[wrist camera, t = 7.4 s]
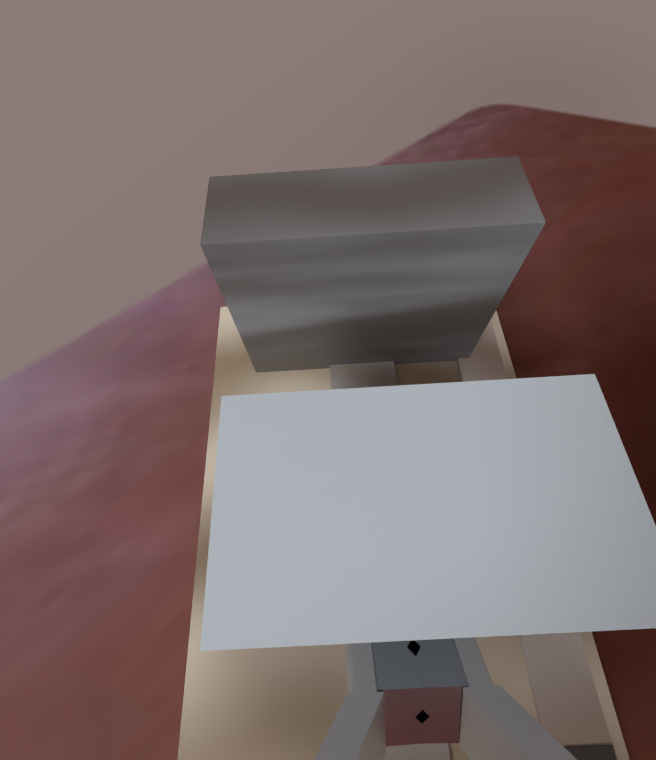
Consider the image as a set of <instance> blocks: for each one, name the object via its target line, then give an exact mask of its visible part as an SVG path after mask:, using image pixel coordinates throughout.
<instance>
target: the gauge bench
mask: <svg viewBox="0 0 656 760" xmlns="http://www.w3.org/2000/svg"><path fill="white" fill-rule="evenodd" d="M545 223H546V222H545V220H544V217H543V215H542V212H541V210H540V208H539V205H538V203H537V200H536V198H535V196H534V193H533V191H532V189H531V186H530V184H529V181H528V179H527V177H526V174H525V172H524V169H523V167H522V165H521V162H520V160H519V158H518V157H503V158H488V159H473V160H458V161H442V162H427V163H412V164H397V165H382V166H368V167H353V168H337V169H322V170H307V171H292V172H279V173H278V172H277V173H262V174H248V175H232V176H218V177H217V176H216V177H210V178H209V186H208V193H207V200H206V208H205V215H204V222H203V230H202V237H201V247H202V249H203V252H204V254H205V256H206V259H207V261H208V263H209V266H210V268H211V270H212V272H213V275H214V277H215V279H216V282H217V284H218V286H219V288H220V291H221V293H222V295H223V298H224V300H225V302H226V305H227V307H221V309H220V320H219V330H218V341H217V351H216V362H215V372H214V383H213V393H212V404H211V414H210V425H209V435H208V446H207V456H206V467H205V477H204V488H203V498H202V509H201V519H200V530H199V540H198V551H197V561H196V572H195V582H194V593H193V603H192V614H191V625H190V635H189V646H188V656H187V667H186V677H185V688H184V698H183V709H182V719H181V730H180V740H179V751H178V760H314V758H315V756H316V754H317V752H318V750H319V748H320V746H321V744H322V742H323V740H324V738H325V736H326V734H327V732H328V730H329V728H330V726H331V724H332V722H333V720H334V719H335V717H336V715H337V713H338V711H339V709H340V707H341V705H342V703H343V701H344V699H345V697H346V695H347V693H353V682H352V666H351V649H350V644H332V645H312V646H292V647H272V648H252V649H232V650H213V651H200V646H201V634H202V622H203V610H204V598H205V586H206V574H207V562H208V550H209V538H210V526H211V514H212V502H213V490H214V478H215V466H216V454H217V442H218V430H219V418H220V407H221V396H229V395H246V394H263V393H280V392H297V391H314V390H331V389H348V388H365V387H382V386H399V385H416V384H433V383H450V382H467V381H484V380H501V379H517V378H516V375H515V372H514V368H513V365H512V362H511V358H510V355H509V351H508V348H507V345H506V341H505V338H504V335H503V331H502V328H501V324H500V321H499V318H498V314H497V311H496V309H497V307H498V306H499V304H500V302H501V300H502V299H503V297H504V295H505V293H506V292H507V290H508V288H509V286H510V285H511V283H512V281H513V279H514V278H515V276H516V274H517V272H518V271H519V269H520V267H521V265H522V264H523V262H524V260H525V258H526V256H527V255H528V253H529V251H530V249H531V248H532V246H533V244H534V242H535V241H536V239H537V237H538V235H539V234H540V232H541V230H542V228H543V227H544V225H545ZM475 639H476V642H477V644H478V647H479V650H480V652H481V655H482V657H483V660H484V662H485V665H486V667H487V670H488V672H489V675H490V678H491V680H492V683H493V685H494V686H501V687H502V688H503V689H504V690H505V691H506V692H507V693H508V694H509V695H510V696H511V697H512V698H513V699H515V700H516V701H517V702H518V703H519V704H520V705H521V706H522V707H523V708H524V709H525V710H526V711H527V712H528V713H529V714H530V715H531V716H532V717H533V718H534V719H535V720H536V721H537V722H539V723H540V724H541V725H542V726H543V727H544V728H545V729H546V730H547V731H548V732H549V733H550V734H551V735H552V736H553V737H554V738H555V739H556V740H557V741H558V742H559V743H560V744H561V745H563V746H564V747H565V748H566V749H567V750H568V751H569V752H570V753H571V754H572V755H573V756H574V757H575V758H576V759H577V760H630V759H629V756H628V752H627V749H626V746H625V742H624V739H623V735H622V732H621V729H620V725H619V722H618V719H617V715H616V712H615V709H614V705H613V702H612V698H611V695H610V692H609V688H608V685H607V682H606V678H605V675H604V671H603V668H602V665H601V661H600V658H599V655H598V651H597V648H596V645H595V641H594V638H593V634H592V631H591V632H571V633H551V634H531V635H511V636H491V637H475ZM383 760H470V759H469V758H468V757H467V755H466V754H465V753H464V751H463V750H462V748H461V747H460V746H459V743H430V744H411V745H399V746H387V747H386V751H385V754H384V757H383Z"/></svg>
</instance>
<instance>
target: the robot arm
mask: <svg viewBox="0 0 656 760" xmlns="http://www.w3.org/2000/svg"><path fill="white" fill-rule="evenodd" d="M350 649H351V666H352V682H353V693H347V695H346V697H345V699H344V701H343V703H342V705H341V707H340V709H339V711H338V713H337V715H336V717H335V719H334V720H333V722H332V724H331V726H330V728H329V730H328V732H327V734H326V736H325V738H324V740H323V742H322V744H321V746H320V748H319V750H318V752H317V754H316V756H315V758H314V760H383V757H384V754H385V751H386V747H387V746H399V745H411V744H430V743H459V746H460V747H461V748H462V750H463V751H464V753H465V754H466V755H467V757H468V758H469V759H470V760H577V759H576V758H575V757H574V756H573V755H572V754H571V753H570V752H569V751H568V750H567V749H566V748H565V747H564V746H563V745H561V744H560V743H559V742H558V741H557V740H556V739H555V738H554V737H553V736H552V735H551V734H550V733H549V732H548V731H547V730H546V729H545V728H544V727H543V726H542V725H541V724H540V723H539V722H537V721H536V720H535V719H534V718H533V717H532V716H531V715H530V714H529V713H528V712H527V711H526V710H525V709H524V708H523V707H522V706H521V705H520V704H519V703H518V702H517V701H516V700H515V699H513V698H512V697H511V696H510V695H509V694H508V693H507V692H506V691H505V690H504V689H503V688H502V687H501V686H494V685H493V683H492V680H491V678H490V675H489V672H488V670H487V667H486V665H485V662H484V660H483V657H482V655H481V652H480V650H479V647H478V644H477V642H476V639H475V637H471V638H451V639H431V640H412V641H392V642H372V643H352V644H350Z"/></svg>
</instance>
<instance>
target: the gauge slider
mask: <svg viewBox="0 0 656 760" xmlns="http://www.w3.org/2000/svg"><path fill="white" fill-rule="evenodd" d="M650 628H656V526H655V523H654V521H653V518H652V516H651V513H650V511H649V508H648V506H647V503H646V501H645V498H644V496H643V493H642V491H641V488H640V486H639V483H638V481H637V478H636V476H635V473H634V471H633V468H632V466H631V463H630V461H629V458H628V456H627V453H626V451H625V448H624V446H623V443H622V441H621V438H620V436H619V433H618V431H617V428H616V426H615V423H614V421H613V418H612V416H611V413H610V411H609V408H608V406H607V403H606V401H605V398H604V396H603V393H602V391H601V388H600V386H599V383H598V381H597V378H596V376H595V374H586V375H569V376H552V377H535V378H518V379H501V380H484V381H467V382H450V383H433V384H416V385H399V386H382V387H365V388H348V389H331V390H314V391H297V392H280V393H263V394H246V395H229V396H221V407H220V418H219V430H218V442H217V454H216V466H215V478H214V490H213V502H212V514H211V526H210V538H209V550H208V562H207V574H206V586H205V598H204V610H203V622H202V634H201V646H200V651H213V650H232V649H252V648H272V647H292V646H312V645H332V644H352V643H372V642H392V641H412V640H431V639H451V638H471V637H491V636H511V635H531V634H551V633H571V632H591V631H611V630H631V629H650Z"/></svg>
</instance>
